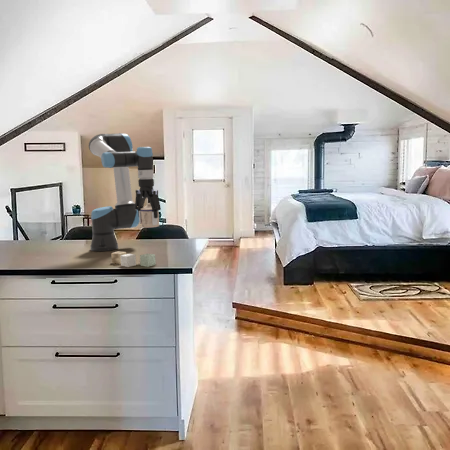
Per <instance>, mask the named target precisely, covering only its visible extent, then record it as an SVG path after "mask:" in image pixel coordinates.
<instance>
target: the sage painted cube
mask: <svg viewBox="0 0 450 450" xmlns="http://www.w3.org/2000/svg"><path fill="white" fill-rule="evenodd" d="M139 260H140V261H139V262H140V266H142V267H146V268H148V267H152V266H155V265H157V264H156V254H154V253H145V254H141V255H139Z"/></svg>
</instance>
